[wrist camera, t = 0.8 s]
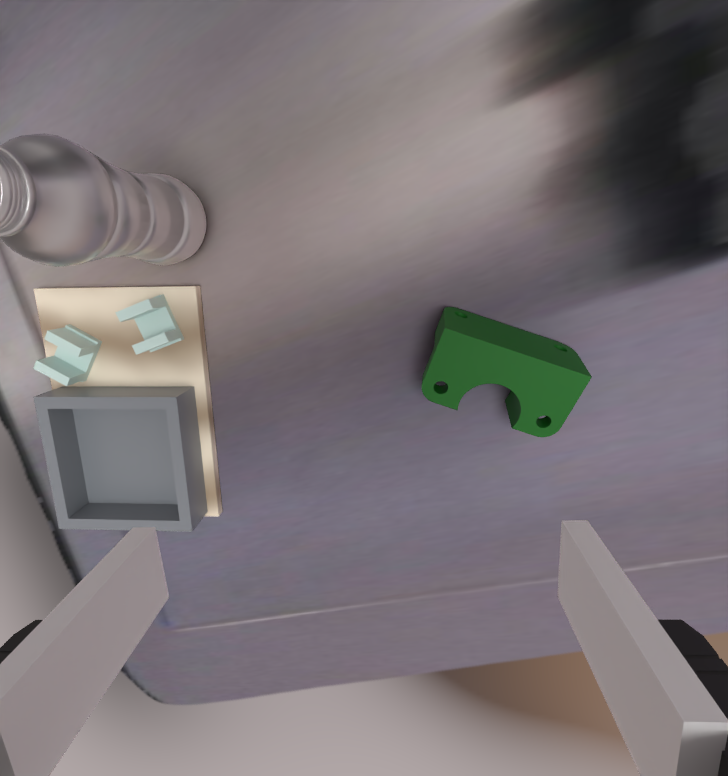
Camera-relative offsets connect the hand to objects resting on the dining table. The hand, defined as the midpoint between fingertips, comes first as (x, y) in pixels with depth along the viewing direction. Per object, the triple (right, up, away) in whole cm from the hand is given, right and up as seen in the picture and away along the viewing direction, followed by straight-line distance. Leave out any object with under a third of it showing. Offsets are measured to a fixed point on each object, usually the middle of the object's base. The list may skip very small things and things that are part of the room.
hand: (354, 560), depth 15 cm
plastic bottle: (-15, +19, +24) cm, 34 cm away
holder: (-20, 0, +28) cm, 35 cm away
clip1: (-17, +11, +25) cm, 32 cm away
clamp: (+11, +8, +25) cm, 29 cm away
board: (-20, +4, +28) cm, 35 cm away
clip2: (-24, +9, +26) cm, 37 cm away
